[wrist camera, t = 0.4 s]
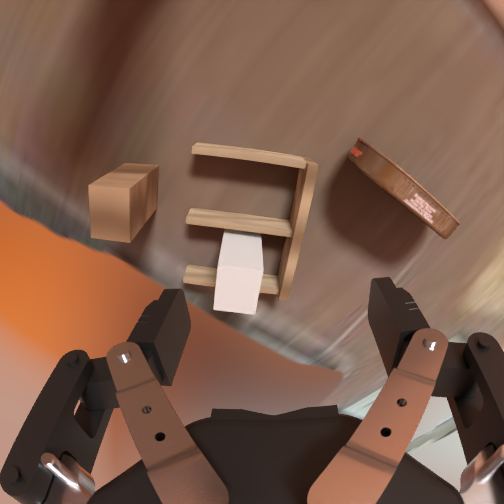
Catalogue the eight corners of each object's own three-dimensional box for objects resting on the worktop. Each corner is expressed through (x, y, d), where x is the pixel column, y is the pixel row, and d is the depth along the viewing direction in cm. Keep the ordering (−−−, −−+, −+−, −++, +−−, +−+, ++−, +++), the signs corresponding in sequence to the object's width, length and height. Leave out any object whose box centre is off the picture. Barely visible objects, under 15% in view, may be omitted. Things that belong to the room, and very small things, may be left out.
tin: (437, 203, 33) (475, 230, 26) (424, 222, 35) (458, 253, 27) (349, 130, 30) (379, 141, 22) (334, 154, 31) (359, 172, 24)
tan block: (125, 162, 31) (88, 185, 23) (159, 165, 32) (129, 188, 24) (125, 204, 34) (91, 237, 26) (157, 208, 34) (130, 243, 26)
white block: (225, 224, 35) (217, 264, 27) (260, 229, 35) (263, 270, 27) (221, 263, 37) (213, 309, 29) (254, 267, 37) (254, 314, 29)
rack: (197, 142, 31) (190, 147, 27) (311, 158, 31) (318, 166, 28) (187, 269, 38) (181, 287, 34) (284, 281, 38) (287, 300, 35)
